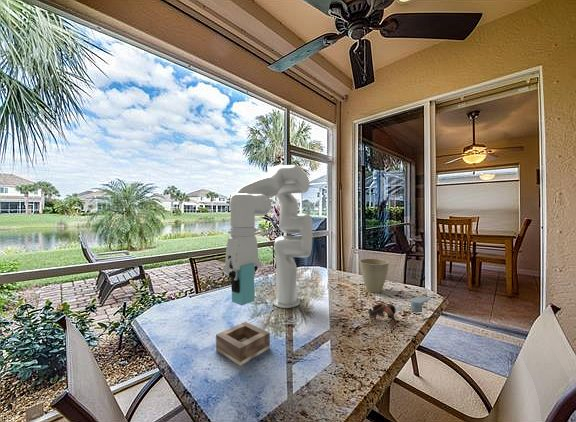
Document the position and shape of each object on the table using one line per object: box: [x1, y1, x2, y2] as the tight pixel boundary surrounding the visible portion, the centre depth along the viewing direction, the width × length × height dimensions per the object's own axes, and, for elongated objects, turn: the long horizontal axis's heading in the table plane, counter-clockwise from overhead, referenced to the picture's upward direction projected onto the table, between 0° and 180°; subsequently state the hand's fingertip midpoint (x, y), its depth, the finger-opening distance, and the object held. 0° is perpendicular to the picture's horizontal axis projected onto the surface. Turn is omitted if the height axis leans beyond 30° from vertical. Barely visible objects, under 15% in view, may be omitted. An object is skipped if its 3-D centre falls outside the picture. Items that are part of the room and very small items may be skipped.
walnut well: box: [215, 321, 271, 366], centre depth 81 cm, size 12×12×5 cm
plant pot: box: [359, 258, 390, 294], centre depth 137 cm, size 15×15×16 cm
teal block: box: [231, 263, 255, 306], centre depth 81 cm, size 5×5×12 cm
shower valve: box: [395, 296, 438, 317], centre depth 110 cm, size 12×6×15 cm
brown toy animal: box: [367, 303, 397, 328], centre depth 101 cm, size 12×10×8 cm
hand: (242, 289), depth 81 cm, fingers closed on teal block, 5 cm apart
